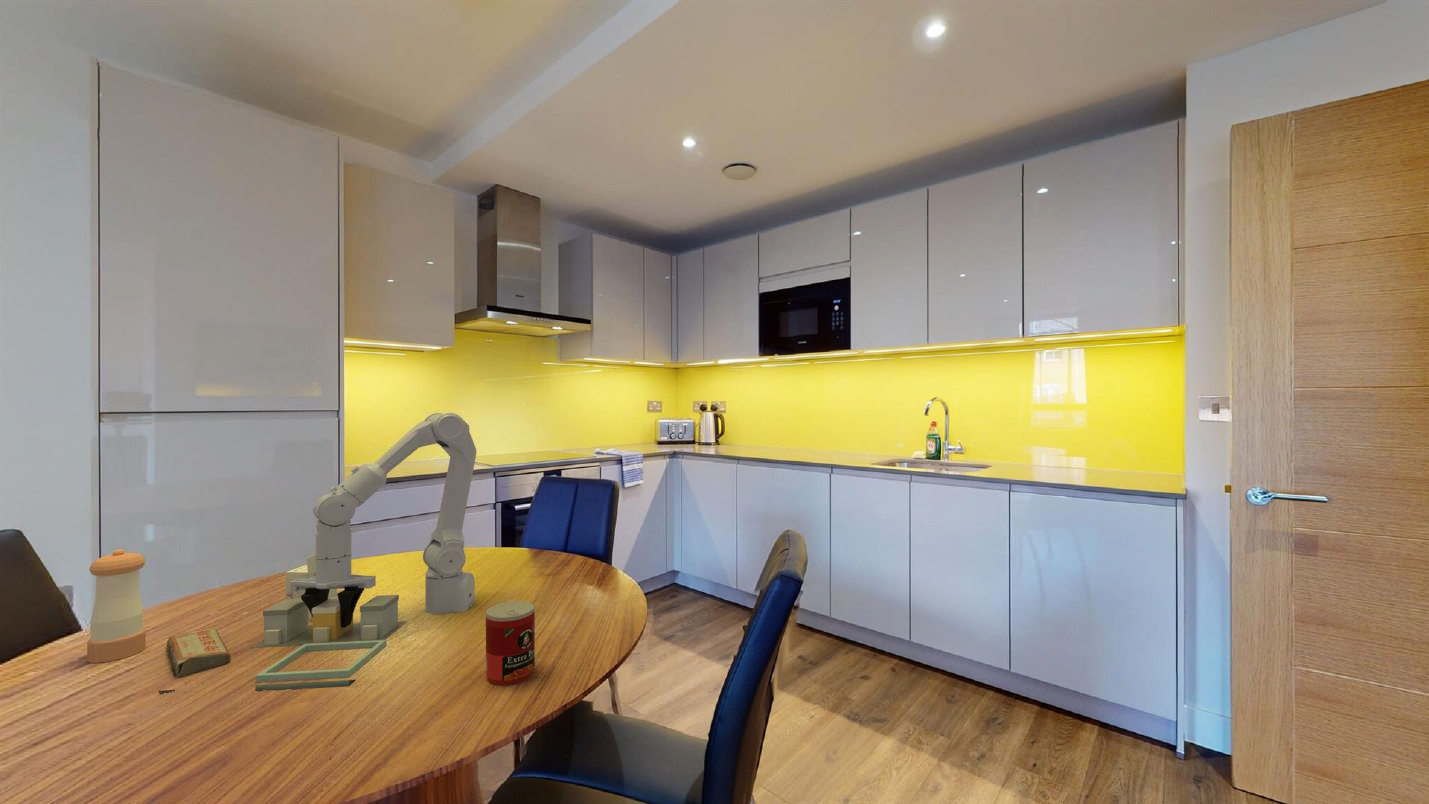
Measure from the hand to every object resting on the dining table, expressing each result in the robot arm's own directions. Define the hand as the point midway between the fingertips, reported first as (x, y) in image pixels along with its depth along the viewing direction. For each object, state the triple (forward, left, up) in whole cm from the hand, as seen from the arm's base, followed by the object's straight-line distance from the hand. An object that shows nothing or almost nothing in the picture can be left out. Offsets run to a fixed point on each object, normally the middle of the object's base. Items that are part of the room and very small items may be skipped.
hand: (333, 626), depth 105 cm
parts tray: (-6, +13, -3) cm, 15 cm away
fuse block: (0, 0, -3) cm, 3 cm away
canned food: (-38, +18, -3) cm, 42 cm away
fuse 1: (+9, 0, -1) cm, 9 cm away
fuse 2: (-8, 0, -1) cm, 9 cm away
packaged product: (+18, +9, -4) cm, 20 cm away
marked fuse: (0, 0, -1) cm, 1 cm away
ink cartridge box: (+11, -12, -3) cm, 17 cm away
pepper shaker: (+37, +1, -3) cm, 37 cm away
